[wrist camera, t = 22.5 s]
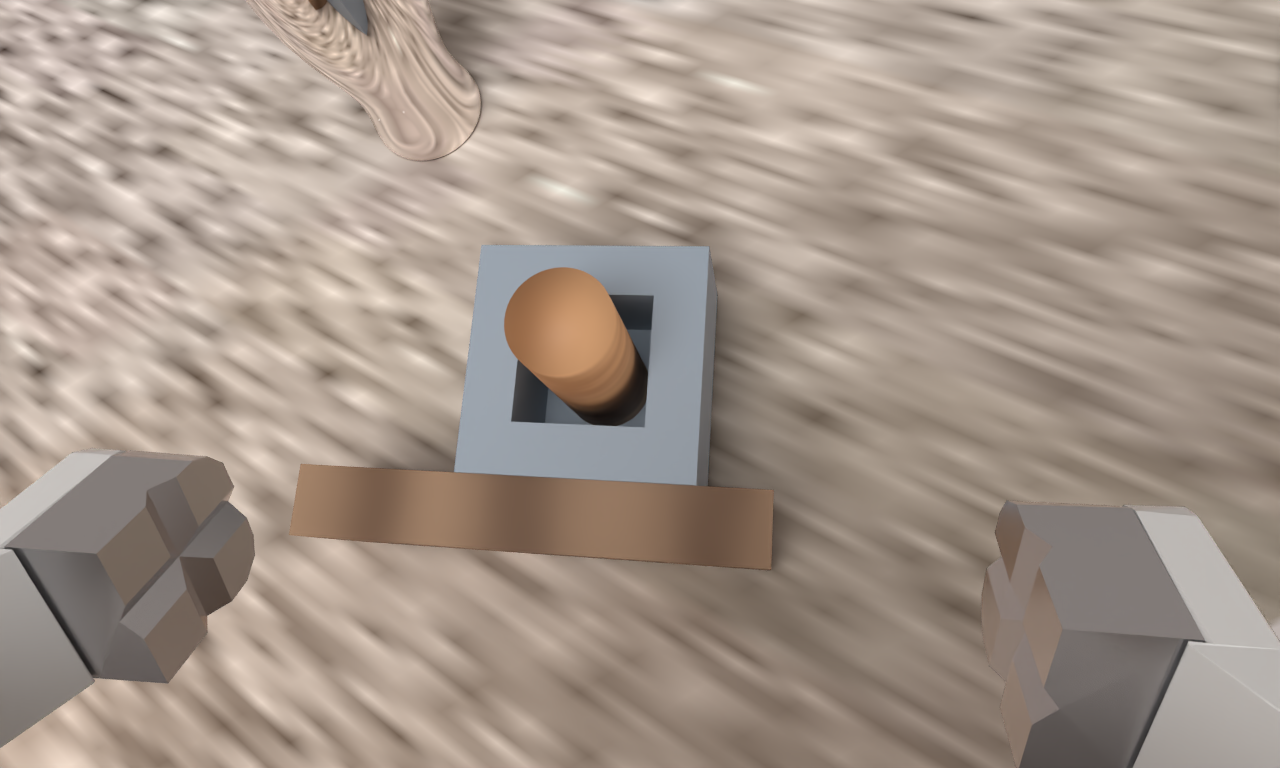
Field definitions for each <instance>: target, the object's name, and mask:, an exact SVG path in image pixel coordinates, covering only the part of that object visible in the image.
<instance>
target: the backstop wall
mask: <svg viewBox="0 0 1280 768" xmlns="http://www.w3.org/2000/svg"><path fill="white" fill-rule="evenodd" d="M773 498H774V490H765V489H747V488H729V487H711V486H693V485H674V484H656V483H638V482H620V481H601V480H583V479H565V478H547V477H528V476H510V475H492V474H474V473H456V472H437V471H419V470H401V469H383V468H364V467H346V466H328V465H310V464H301V465H300V471H299V477H298V483H297V490H296V496H295V502H294V508H293V514H292V520H291V526H290V532H289V535H294V536H306V537H317V538H329V539H340V540H352V541H364V542H378V543H392V544H406V545H420V546H435V547H449V548H463V549H477V550H491V551H505V552H519V553H533V554H547V555H561V556H575V557H590V558H604V559H618V560H632V561H646V562H660V563H674V564H688V565H702V566H716V567H730V568H745V569H759V570H771V558H772V528H773Z"/></svg>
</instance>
